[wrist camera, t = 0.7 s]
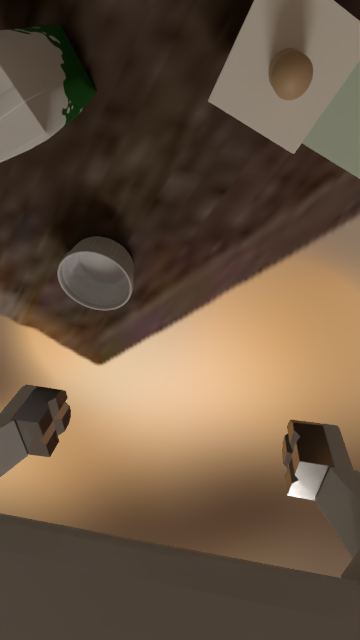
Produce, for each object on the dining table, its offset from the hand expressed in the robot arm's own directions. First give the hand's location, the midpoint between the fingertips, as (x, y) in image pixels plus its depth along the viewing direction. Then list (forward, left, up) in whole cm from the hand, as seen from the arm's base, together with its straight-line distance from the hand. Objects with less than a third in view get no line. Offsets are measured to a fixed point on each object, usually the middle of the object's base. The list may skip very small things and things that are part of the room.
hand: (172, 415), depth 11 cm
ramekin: (+29, -6, -43) cm, 53 cm away
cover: (-8, +5, -38) cm, 39 cm away
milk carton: (+4, -19, -43) cm, 48 cm away
